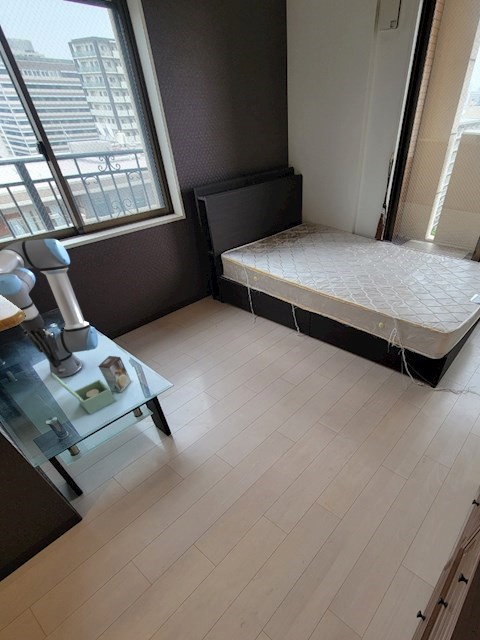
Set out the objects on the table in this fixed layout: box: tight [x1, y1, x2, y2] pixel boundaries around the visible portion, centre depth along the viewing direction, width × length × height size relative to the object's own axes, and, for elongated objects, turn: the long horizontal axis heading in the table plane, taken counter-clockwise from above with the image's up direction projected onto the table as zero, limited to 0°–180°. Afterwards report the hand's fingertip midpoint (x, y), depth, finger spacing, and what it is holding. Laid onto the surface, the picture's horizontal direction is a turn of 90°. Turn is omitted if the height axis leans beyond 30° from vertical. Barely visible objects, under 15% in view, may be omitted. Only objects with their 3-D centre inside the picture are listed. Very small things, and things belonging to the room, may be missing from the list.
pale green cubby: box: [73, 379, 116, 415], centre depth 166 cm, size 13×11×8 cm
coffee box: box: [97, 355, 132, 393], centre depth 172 cm, size 9×6×16 cm
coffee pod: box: [86, 389, 99, 398], centre depth 166 cm, size 6×6×6 cm
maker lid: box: [50, 372, 83, 402], centre depth 154 cm, size 13×11×1 cm
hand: (57, 365), depth 147 cm, fingers closed
